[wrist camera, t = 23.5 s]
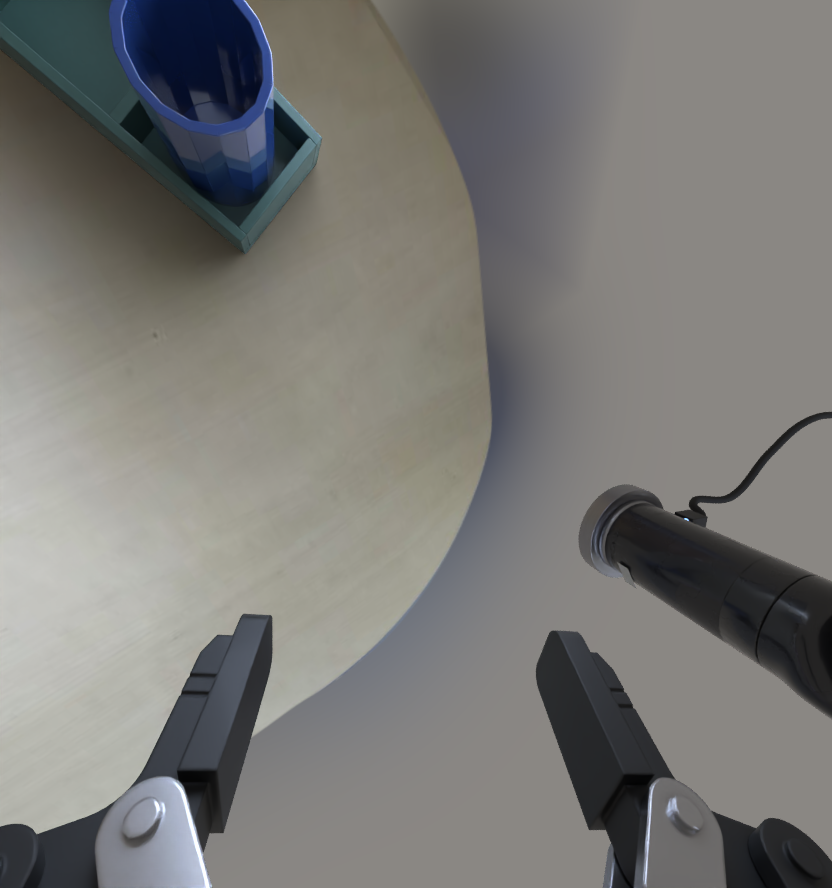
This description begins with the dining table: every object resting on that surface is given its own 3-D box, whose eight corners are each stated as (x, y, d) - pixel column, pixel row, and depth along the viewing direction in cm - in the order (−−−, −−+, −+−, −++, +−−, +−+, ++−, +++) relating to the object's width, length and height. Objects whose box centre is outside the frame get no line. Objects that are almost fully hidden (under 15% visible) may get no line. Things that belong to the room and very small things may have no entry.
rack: (245, 254, 28) (240, 242, 25) (-19, 33, 22) (-75, -27, 18) (316, 163, 28) (322, 137, 25) (76, -84, 22) (37, -166, 18)
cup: (286, 138, 27) (292, 30, 18) (255, 225, 27) (245, 164, 18) (189, 76, 24) (136, -87, 15) (157, 173, 25) (88, 72, 16)
